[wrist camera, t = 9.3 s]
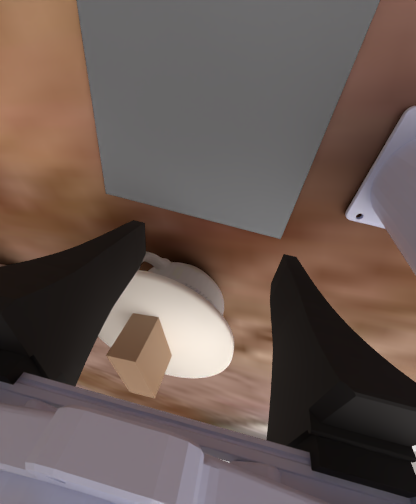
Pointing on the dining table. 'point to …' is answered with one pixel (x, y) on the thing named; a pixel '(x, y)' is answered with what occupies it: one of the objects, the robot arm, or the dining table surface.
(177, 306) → the lid
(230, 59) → the mat
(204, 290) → the teacup
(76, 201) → the dining table surface
